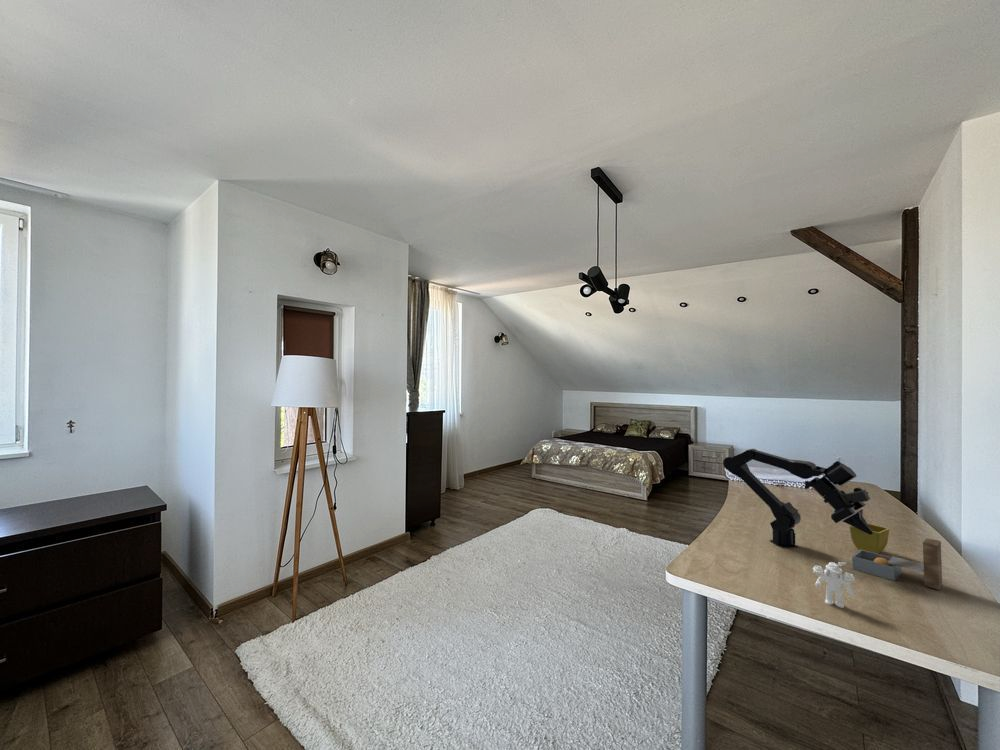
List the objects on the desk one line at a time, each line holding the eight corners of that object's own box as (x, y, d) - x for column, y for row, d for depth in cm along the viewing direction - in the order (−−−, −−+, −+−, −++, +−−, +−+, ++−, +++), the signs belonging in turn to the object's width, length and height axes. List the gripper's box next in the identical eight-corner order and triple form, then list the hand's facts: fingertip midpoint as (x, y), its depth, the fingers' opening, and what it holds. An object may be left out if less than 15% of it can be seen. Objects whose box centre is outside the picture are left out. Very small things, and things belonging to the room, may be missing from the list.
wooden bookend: (888, 576, 125) (887, 534, 125) (893, 570, 129) (891, 530, 129) (938, 590, 116) (937, 545, 117) (942, 583, 120) (940, 540, 120)
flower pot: (880, 558, 139) (879, 532, 139) (849, 549, 146) (848, 525, 147) (890, 553, 143) (889, 528, 143) (860, 545, 150) (859, 521, 151)
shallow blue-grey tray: (852, 568, 131) (852, 556, 131) (860, 561, 136) (860, 549, 137) (894, 580, 122) (894, 567, 123) (901, 572, 128) (901, 559, 128)
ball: (885, 563, 126) (871, 566, 128) (895, 572, 125) (881, 575, 128) (882, 553, 129) (869, 556, 131) (892, 562, 128) (878, 565, 131)
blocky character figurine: (855, 606, 108) (854, 562, 108) (856, 612, 105) (854, 567, 105) (813, 595, 114) (812, 553, 114) (812, 600, 111) (811, 557, 111)
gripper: (843, 483, 130) (890, 527, 121) (857, 476, 141) (901, 516, 132) (814, 501, 136) (856, 544, 127) (829, 493, 147) (869, 532, 138)
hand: (871, 533), depth 131 cm, fingers closed
